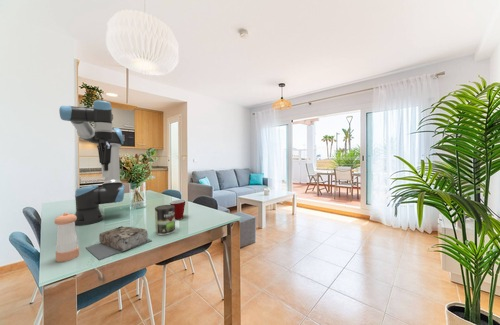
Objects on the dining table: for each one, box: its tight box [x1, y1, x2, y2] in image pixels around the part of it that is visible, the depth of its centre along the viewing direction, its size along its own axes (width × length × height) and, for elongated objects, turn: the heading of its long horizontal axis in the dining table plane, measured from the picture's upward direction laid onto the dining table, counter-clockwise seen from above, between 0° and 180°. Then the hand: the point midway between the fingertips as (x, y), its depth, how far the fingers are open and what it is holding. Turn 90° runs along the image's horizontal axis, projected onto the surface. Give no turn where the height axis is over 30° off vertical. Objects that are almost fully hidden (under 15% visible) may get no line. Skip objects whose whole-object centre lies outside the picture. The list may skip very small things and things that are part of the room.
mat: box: [85, 237, 152, 261], centre depth 96 cm, size 18×22×1 cm
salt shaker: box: [54, 212, 80, 263], centre depth 84 cm, size 7×7×19 cm
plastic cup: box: [168, 199, 187, 220], centre depth 135 cm, size 11×11×12 cm
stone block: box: [98, 226, 149, 252], centre depth 98 cm, size 13×7×20 cm
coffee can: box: [154, 204, 176, 236], centre depth 112 cm, size 10×10×14 cm
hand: (105, 176), depth 104 cm, fingers closed
